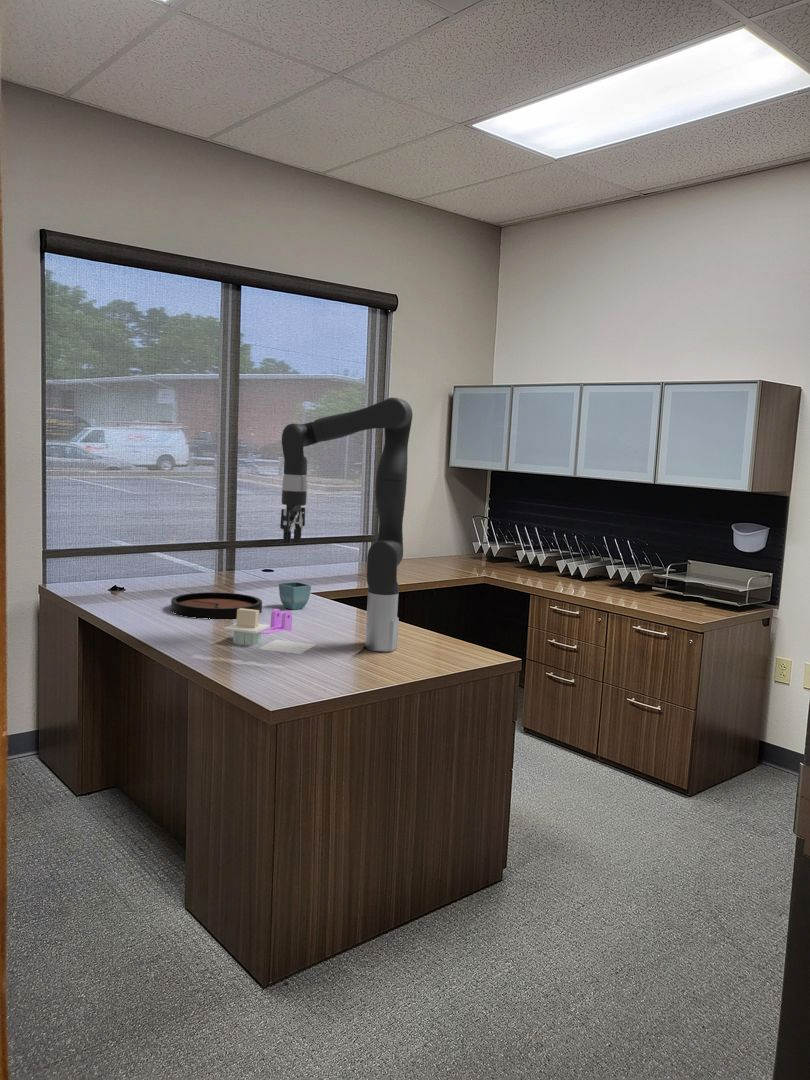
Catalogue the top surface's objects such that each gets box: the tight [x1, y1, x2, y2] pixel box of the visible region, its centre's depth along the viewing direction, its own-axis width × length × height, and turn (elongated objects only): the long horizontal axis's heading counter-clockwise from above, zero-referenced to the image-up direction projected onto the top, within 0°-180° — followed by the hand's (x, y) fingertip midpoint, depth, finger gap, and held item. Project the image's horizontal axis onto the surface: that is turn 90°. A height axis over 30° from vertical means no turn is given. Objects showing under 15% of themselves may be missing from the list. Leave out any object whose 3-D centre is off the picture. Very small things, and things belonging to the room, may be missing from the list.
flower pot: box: [278, 581, 312, 610], centre depth 312 cm, size 9×9×9 cm
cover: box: [223, 608, 271, 634], centre depth 251 cm, size 10×10×6 cm
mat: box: [257, 639, 317, 655], centre depth 249 cm, size 13×13×1 cm
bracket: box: [261, 608, 293, 635], centre depth 269 cm, size 13×6×7 cm, turn 152°
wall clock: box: [170, 591, 263, 620], centre depth 300 cm, size 31×4×31 cm
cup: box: [232, 631, 262, 646], centre depth 252 cm, size 8×8×5 cm
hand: (292, 541), depth 262 cm, fingers open, 8 cm apart
